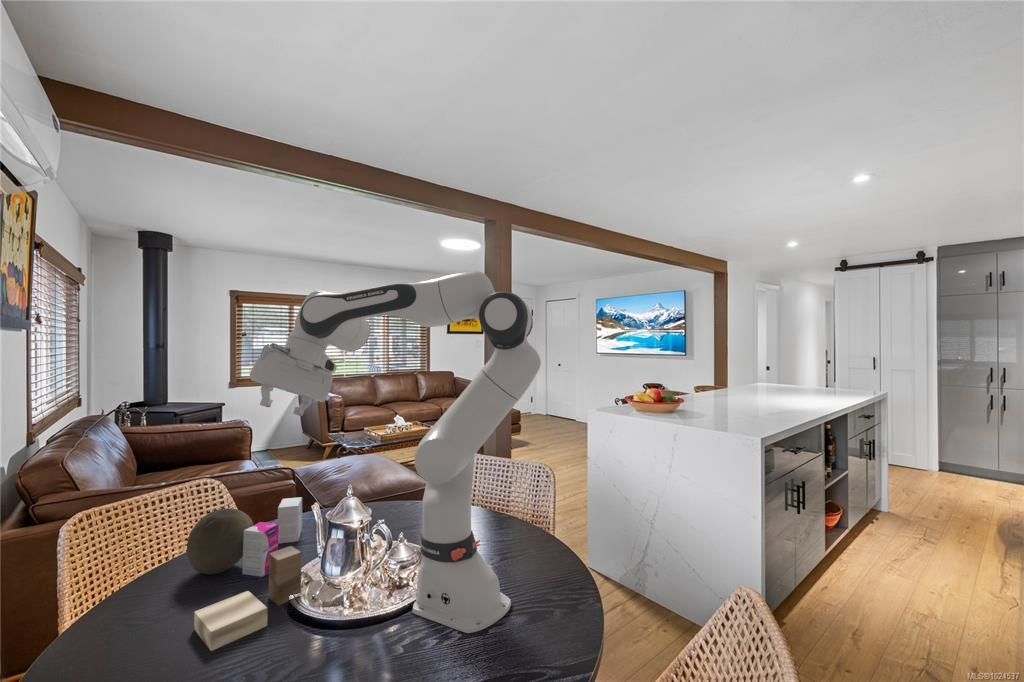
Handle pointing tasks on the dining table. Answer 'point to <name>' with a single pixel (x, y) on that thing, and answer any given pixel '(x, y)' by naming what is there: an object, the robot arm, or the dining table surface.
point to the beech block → (230, 619)
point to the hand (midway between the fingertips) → (281, 411)
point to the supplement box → (259, 548)
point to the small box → (290, 520)
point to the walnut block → (284, 574)
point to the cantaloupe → (217, 540)
